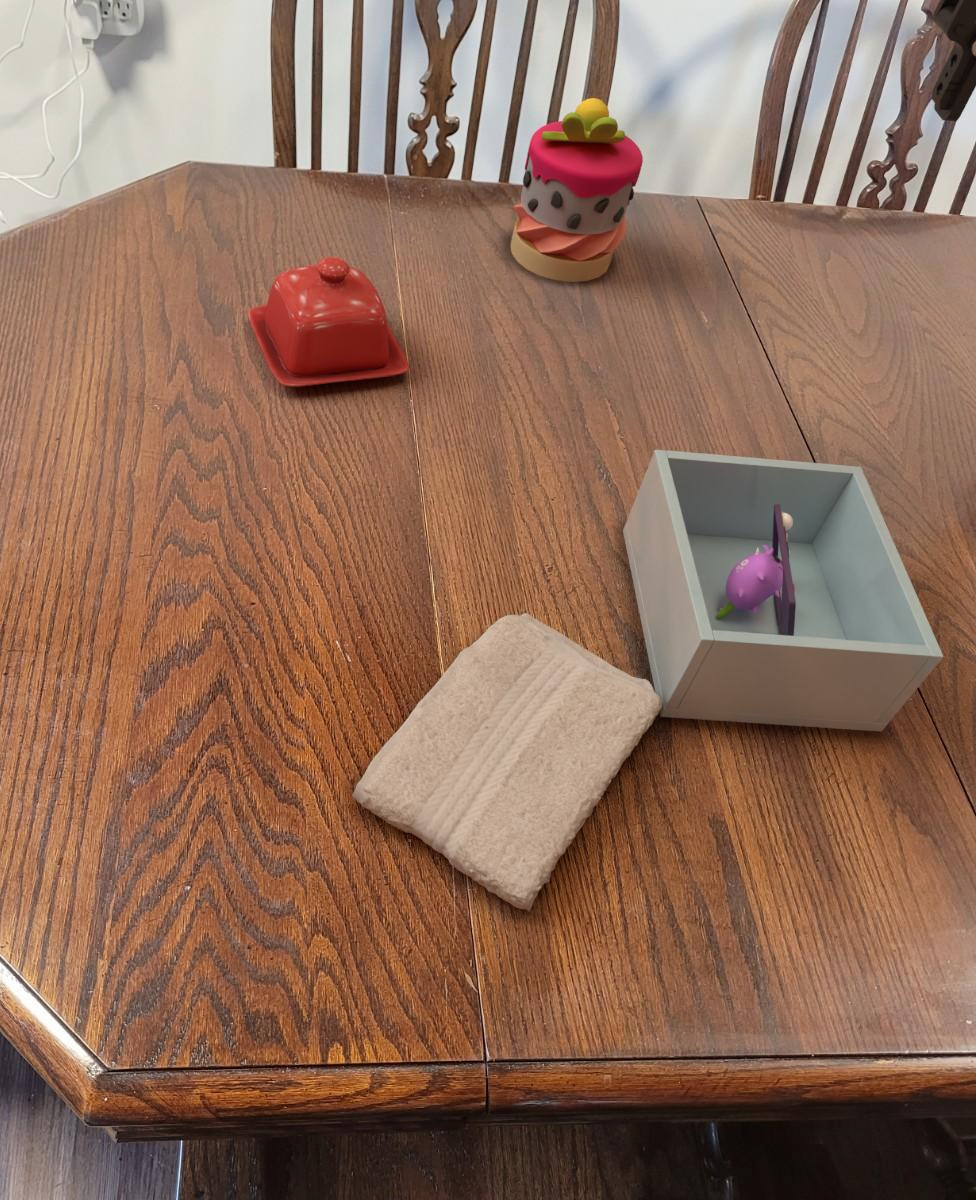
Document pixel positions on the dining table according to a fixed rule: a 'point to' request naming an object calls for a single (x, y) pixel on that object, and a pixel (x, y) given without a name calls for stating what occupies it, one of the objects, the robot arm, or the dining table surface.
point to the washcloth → (510, 754)
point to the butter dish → (326, 327)
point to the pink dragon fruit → (765, 578)
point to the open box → (822, 592)
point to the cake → (575, 195)
